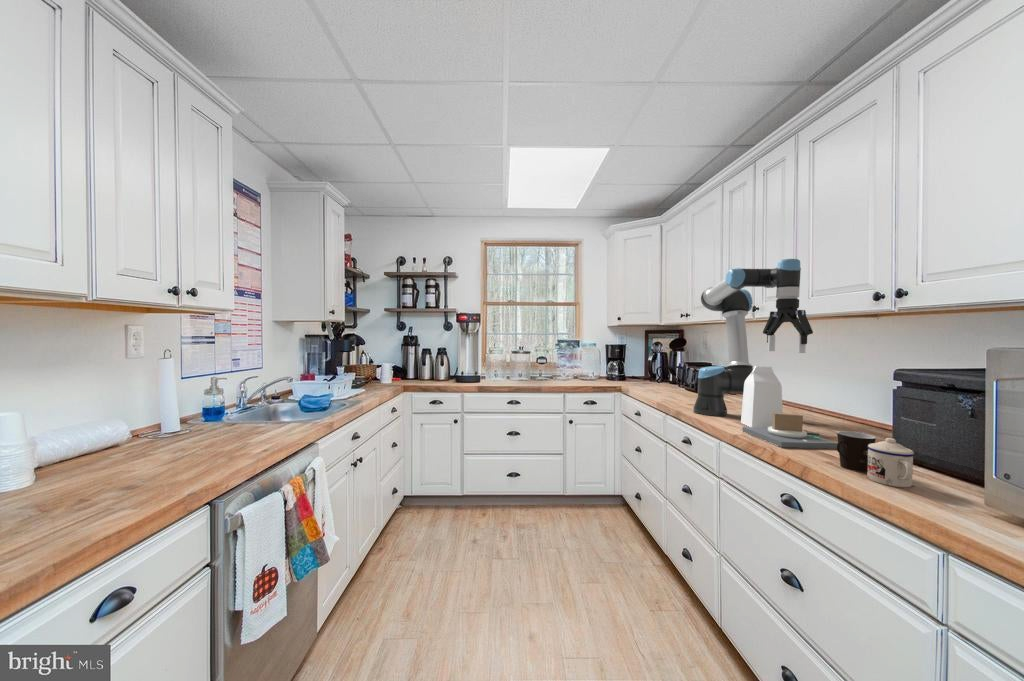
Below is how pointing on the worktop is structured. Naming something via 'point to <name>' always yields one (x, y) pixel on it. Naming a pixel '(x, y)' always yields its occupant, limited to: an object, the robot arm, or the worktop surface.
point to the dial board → (790, 439)
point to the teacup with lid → (890, 463)
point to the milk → (761, 397)
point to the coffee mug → (854, 450)
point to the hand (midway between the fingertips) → (785, 352)
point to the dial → (788, 426)
